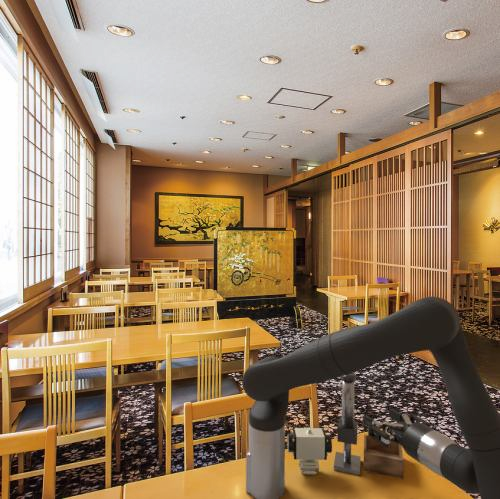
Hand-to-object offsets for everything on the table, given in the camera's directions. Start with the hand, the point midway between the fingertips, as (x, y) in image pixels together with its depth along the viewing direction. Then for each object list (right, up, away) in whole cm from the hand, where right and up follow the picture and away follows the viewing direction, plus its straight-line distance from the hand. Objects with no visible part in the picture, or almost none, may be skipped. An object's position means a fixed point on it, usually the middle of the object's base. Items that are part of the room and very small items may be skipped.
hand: (376, 415), depth 89 cm
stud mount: (-5, -19, +11) cm, 22 cm away
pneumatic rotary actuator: (-16, -19, +8) cm, 26 cm away
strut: (-5, -11, +11) cm, 16 cm away
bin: (+6, -19, +11) cm, 23 cm away
